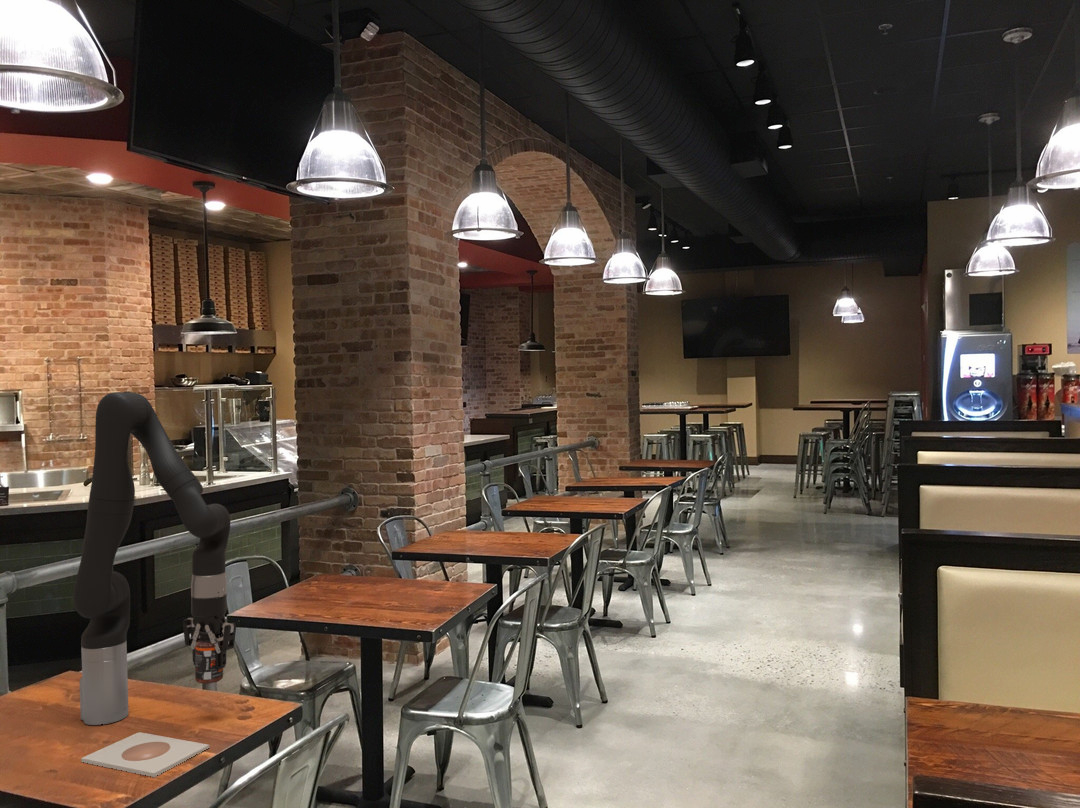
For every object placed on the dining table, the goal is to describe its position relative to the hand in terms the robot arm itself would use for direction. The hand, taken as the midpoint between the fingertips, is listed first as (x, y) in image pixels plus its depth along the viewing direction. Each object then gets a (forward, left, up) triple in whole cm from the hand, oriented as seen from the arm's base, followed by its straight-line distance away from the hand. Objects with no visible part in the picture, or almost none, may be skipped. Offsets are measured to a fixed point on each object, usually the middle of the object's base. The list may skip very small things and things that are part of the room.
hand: (209, 666), depth 190 cm
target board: (+2, -20, -12) cm, 23 cm away
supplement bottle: (0, 0, -3) cm, 3 cm away
